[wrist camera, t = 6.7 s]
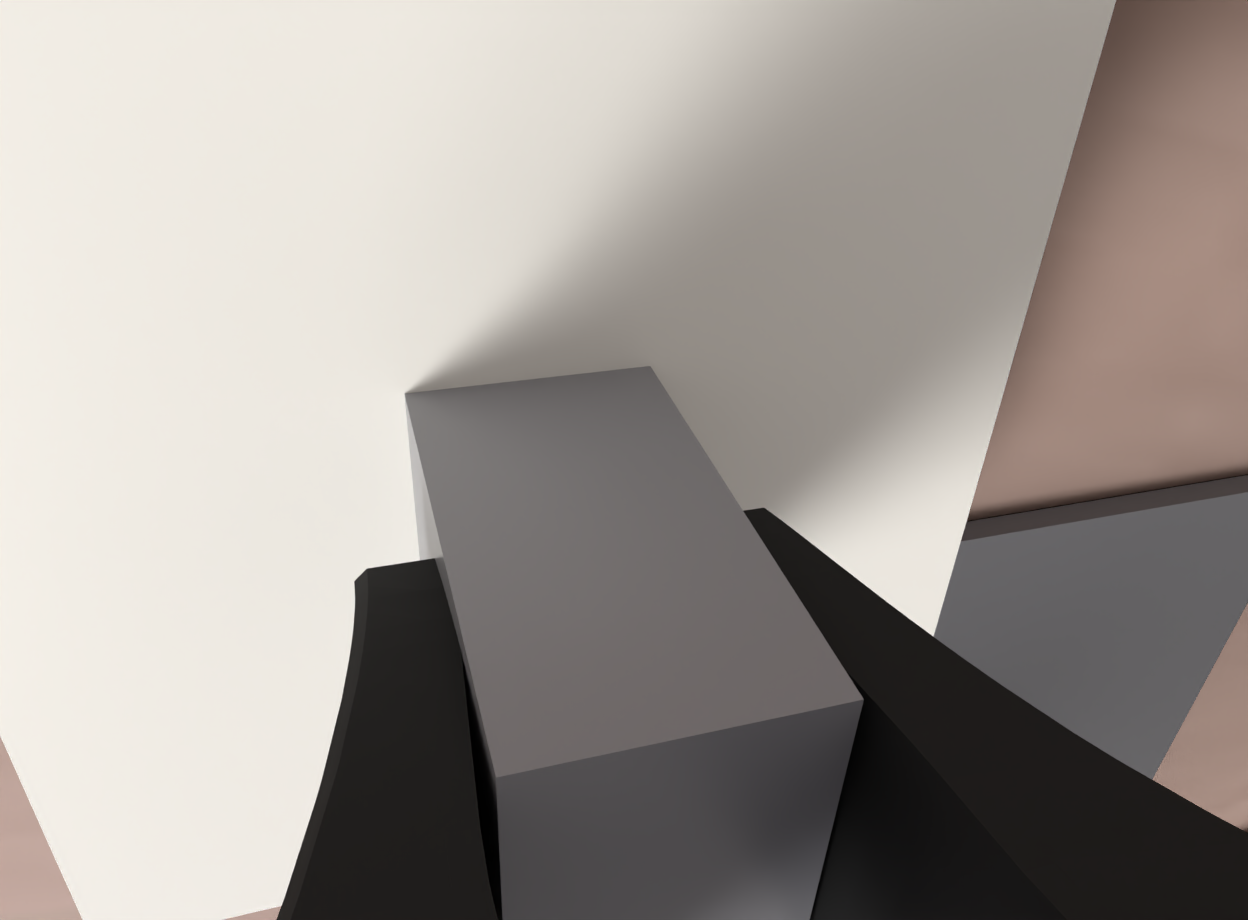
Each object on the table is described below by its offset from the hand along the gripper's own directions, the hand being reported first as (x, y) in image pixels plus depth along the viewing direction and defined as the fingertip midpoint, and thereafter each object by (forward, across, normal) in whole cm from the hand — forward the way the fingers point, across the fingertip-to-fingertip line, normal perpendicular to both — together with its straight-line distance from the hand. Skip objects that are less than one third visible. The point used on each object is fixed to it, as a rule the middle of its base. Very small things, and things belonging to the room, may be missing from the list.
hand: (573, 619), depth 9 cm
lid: (+2, 0, 0) cm, 2 cm away
